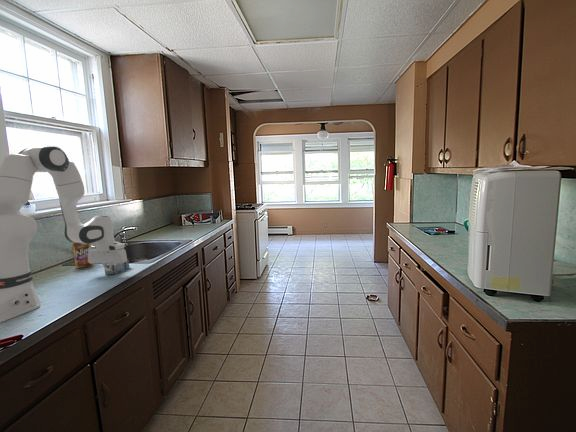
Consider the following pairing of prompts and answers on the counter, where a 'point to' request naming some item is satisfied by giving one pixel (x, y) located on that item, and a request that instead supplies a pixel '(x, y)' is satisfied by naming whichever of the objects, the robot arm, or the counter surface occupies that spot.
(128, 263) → the block
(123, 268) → the blue block
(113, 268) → the sliding jaw
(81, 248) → the candy box
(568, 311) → the counter surface
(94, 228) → the robot arm
